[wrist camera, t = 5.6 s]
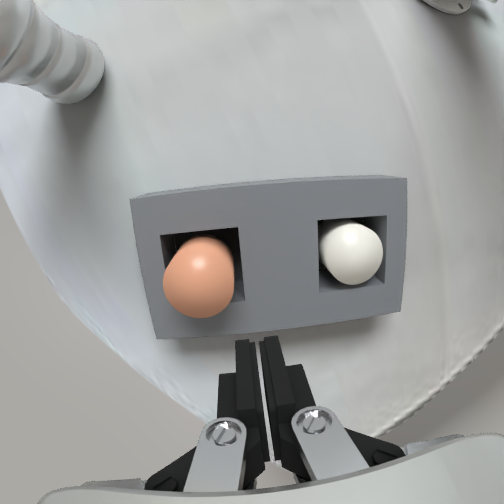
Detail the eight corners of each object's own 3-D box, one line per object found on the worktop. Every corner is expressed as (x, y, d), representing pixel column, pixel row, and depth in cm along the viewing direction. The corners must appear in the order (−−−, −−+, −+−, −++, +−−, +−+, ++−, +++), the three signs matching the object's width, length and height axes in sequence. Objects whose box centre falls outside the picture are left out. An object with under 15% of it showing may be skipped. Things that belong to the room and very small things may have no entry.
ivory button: (360, 214, 28) (383, 224, 23) (360, 262, 29) (381, 280, 24) (311, 217, 28) (327, 228, 23) (313, 268, 29) (327, 288, 24)
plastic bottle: (116, 41, 22) (-3, -63, 3) (107, 104, 24) (-52, 46, 5) (62, 52, 22) (-70, -12, 3) (53, 112, 24) (-104, 88, 4)
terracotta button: (231, 231, 24) (230, 247, 20) (237, 287, 26) (237, 315, 21) (171, 237, 24) (157, 254, 20) (180, 292, 26) (169, 320, 21)
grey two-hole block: (380, 175, 27) (406, 178, 22) (379, 291, 31) (400, 311, 26) (147, 193, 27) (129, 199, 22) (167, 313, 30) (156, 339, 25)
